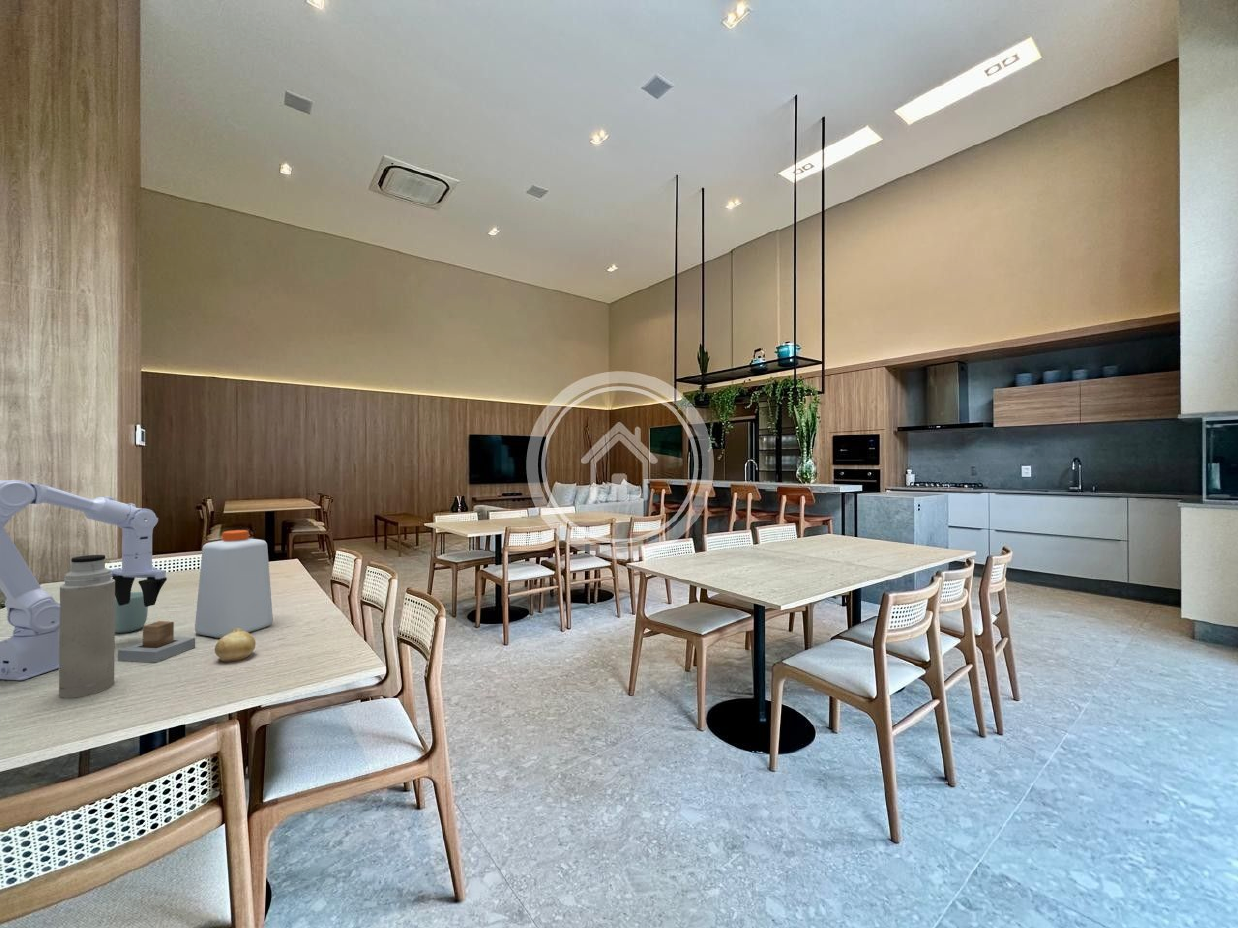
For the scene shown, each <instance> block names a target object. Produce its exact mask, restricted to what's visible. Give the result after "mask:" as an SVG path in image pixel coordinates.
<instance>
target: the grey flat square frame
mask: <svg viewBox="0 0 1238 928" xmlns="http://www.w3.org/2000/svg"><path fill="white" fill-rule="evenodd" d="M194 648H196V637H191V636H190V637H187V636H174V642H173V643H170V644H167V645H165V646H162V647H159V648H143V641H140V642H139V643H135V644H133V645H129V646H126V647H124V648H121V649H118V650H117V661H119V662H135V663H137V662H138V663H151V664H152V663H156V664H157V663H159V662H160V661H164V660H166V659H168V658H171V657H174V656H177V655H179V654H182V653H184V652H187V651H189V650H191V649H194Z"/></svg>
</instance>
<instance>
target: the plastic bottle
mask: <svg viewBox="0 0 1238 928" xmlns="http://www.w3.org/2000/svg"><path fill="white" fill-rule="evenodd" d="M221 536H222V537H221V538H222V539H221V540H217V541H210V542H207V543H205V544H204V545H203V546H202V550H201V559H200V560H201V561H200V571H199V580H198V581H199V582H198V591H197V592H198V593H197V600H196V601H197V602H196V612H195V622H194V623H195V624H194V632H195V633H196V634H197V635H201V636H206V637H211V638H212V637H213V638H217V639H221V638H222V637H224V636H225V635H227V634H230V633H232V632H233V630H234V629H236V628H240V629H242V631H245V632H248V633H250V632H251V633H252V632H254V631H257V630H260V629H265V628H266V627H269V626H270V625H271V624H272V623H273V620H274V618H273V617H274V615H273V605H272V604H273V603H272V590H271V578H270V577H271V576H270V566H269V564H270V562H269V553H268V543H267V542H266V540H264V539H258V538H250V532H249V531H248V530H246V529H236V530H227V531H223V532H222V534H221ZM230 628H231V629H233V630H231V629H230Z"/></svg>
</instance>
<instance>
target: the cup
mask: <svg viewBox="0 0 1238 928" xmlns="http://www.w3.org/2000/svg"><path fill="white" fill-rule="evenodd" d="M148 612H149V606H148V607H145V606H144V599H143V592H142V591H131V596H130V602H129V604H125V605H121V606H119V605H118V602H117V599H116V597H115V633H117V634H126V633H132V632H136V631H138V630H140V629H143V626H145V625H146V622H147V619H148V614H149V613H148Z"/></svg>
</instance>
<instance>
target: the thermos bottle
mask: <svg viewBox="0 0 1238 928" xmlns="http://www.w3.org/2000/svg"><path fill="white" fill-rule="evenodd" d="M105 560H106V555H104V554H89V555H87V554H86V555H80V556H75V557H72V558H71V566H70V567H71V569H70V571H68V572H67V573H65V575H64V578H63V581H64V584H61V585H59V604H60V625H59V668H58V696H59V697H60V698H63V699H64V698H65V699H73V698H81V697H85V696H89V695H93V694H96V693H100V692H103V691H105V690H107V689H110V688H112V687H113V686H114V685H115V652H116V651H115V642H116V641H115V640H116V639H115V638H116V637H115V633H116V632H115V580H114V579H112V577H110V574H112V573H111V572H110V570H111V569H109V568H106V562H105Z"/></svg>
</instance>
